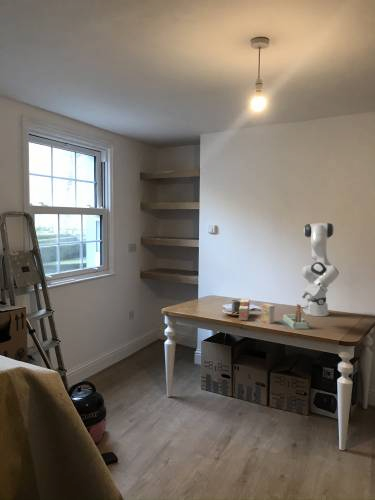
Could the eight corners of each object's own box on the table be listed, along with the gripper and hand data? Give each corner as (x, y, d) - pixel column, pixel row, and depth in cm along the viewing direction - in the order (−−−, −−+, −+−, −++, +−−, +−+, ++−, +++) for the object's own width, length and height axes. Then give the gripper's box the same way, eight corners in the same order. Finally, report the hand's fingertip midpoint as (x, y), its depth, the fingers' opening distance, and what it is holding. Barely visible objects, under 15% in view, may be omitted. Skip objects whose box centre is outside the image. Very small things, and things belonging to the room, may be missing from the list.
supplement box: (261, 321, 278) (261, 303, 277) (266, 320, 281) (266, 303, 280) (269, 324, 271) (269, 306, 270) (274, 323, 274) (274, 305, 273)
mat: (276, 320, 281) (276, 320, 281) (303, 320, 282) (303, 319, 282) (286, 329, 259) (286, 328, 259) (315, 328, 261) (315, 328, 261)
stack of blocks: (247, 321, 279) (247, 304, 278) (238, 320, 281) (238, 304, 280) (249, 314, 300) (249, 298, 299) (241, 313, 302) (241, 298, 301)
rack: (282, 319, 282) (282, 314, 282) (296, 319, 283) (296, 314, 283) (293, 328, 259) (293, 323, 258) (308, 328, 259) (308, 322, 259)
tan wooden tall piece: (292, 323, 269) (293, 303, 267) (299, 323, 269) (300, 303, 268) (296, 326, 262) (296, 306, 260) (303, 326, 262) (304, 306, 261)
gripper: (310, 279, 274) (297, 292, 275) (322, 285, 254) (307, 299, 254) (316, 285, 275) (302, 298, 275) (328, 291, 254) (313, 306, 255)
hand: (305, 299), depth 265 cm, fingers open, 8 cm apart
